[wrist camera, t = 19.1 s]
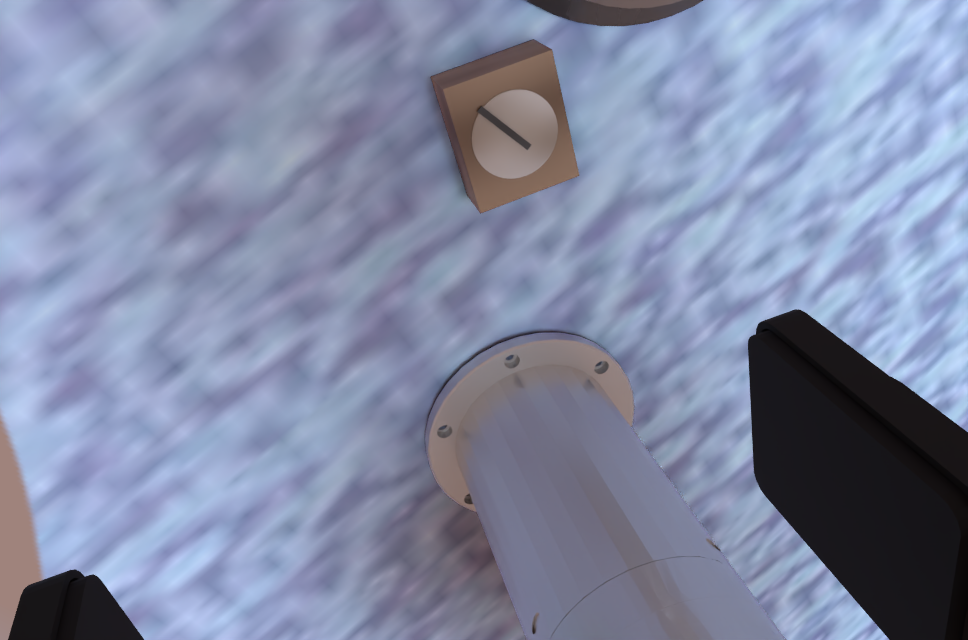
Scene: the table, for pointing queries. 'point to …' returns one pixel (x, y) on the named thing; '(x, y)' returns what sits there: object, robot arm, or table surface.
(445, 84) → the dial pad
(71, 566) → the table surface
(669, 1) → the handwheel
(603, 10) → the plinth
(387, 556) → the table surface
